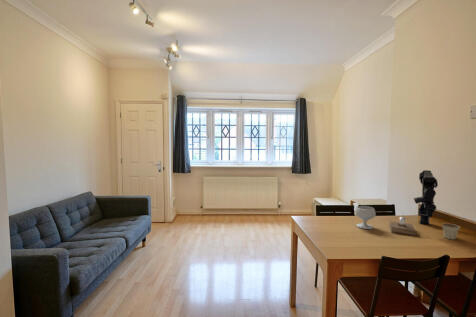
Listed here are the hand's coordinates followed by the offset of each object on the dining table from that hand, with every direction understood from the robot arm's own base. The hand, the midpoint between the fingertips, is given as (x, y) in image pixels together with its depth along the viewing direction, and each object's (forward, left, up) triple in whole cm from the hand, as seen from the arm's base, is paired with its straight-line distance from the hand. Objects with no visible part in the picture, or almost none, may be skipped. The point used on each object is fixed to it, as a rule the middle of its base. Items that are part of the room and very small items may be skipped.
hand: (427, 215), depth 175 cm
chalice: (+10, -40, -12) cm, 43 cm away
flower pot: (+9, +11, -12) cm, 18 cm away
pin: (+8, -16, -11) cm, 21 cm away
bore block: (+8, -16, -12) cm, 21 cm away
